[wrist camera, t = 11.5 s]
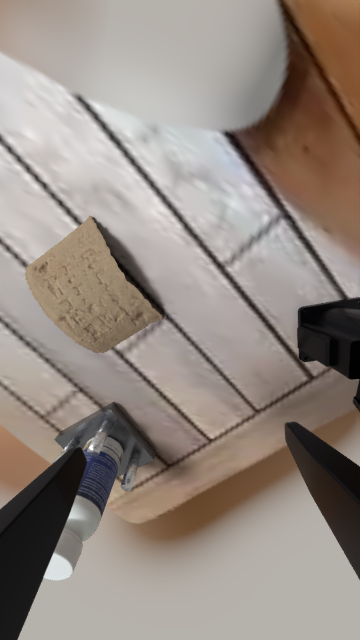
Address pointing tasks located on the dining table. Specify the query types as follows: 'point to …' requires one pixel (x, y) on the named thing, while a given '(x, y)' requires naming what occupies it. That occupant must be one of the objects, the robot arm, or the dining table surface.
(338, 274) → the dining table surface
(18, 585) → the robot arm
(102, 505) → the pill bottle
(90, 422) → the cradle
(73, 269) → the clay tablet
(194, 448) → the dining table surface
